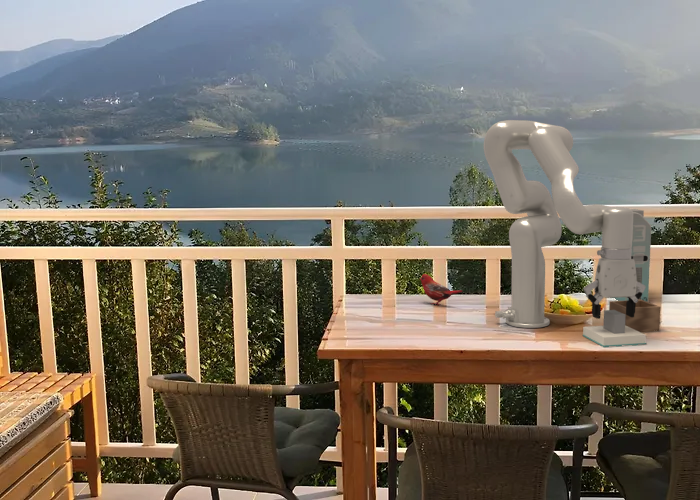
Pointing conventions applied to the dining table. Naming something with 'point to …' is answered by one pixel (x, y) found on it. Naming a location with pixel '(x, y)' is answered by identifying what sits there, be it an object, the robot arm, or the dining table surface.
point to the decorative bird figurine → (435, 289)
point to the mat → (610, 345)
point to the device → (641, 251)
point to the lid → (614, 331)
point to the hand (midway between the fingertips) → (613, 317)
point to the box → (640, 315)
